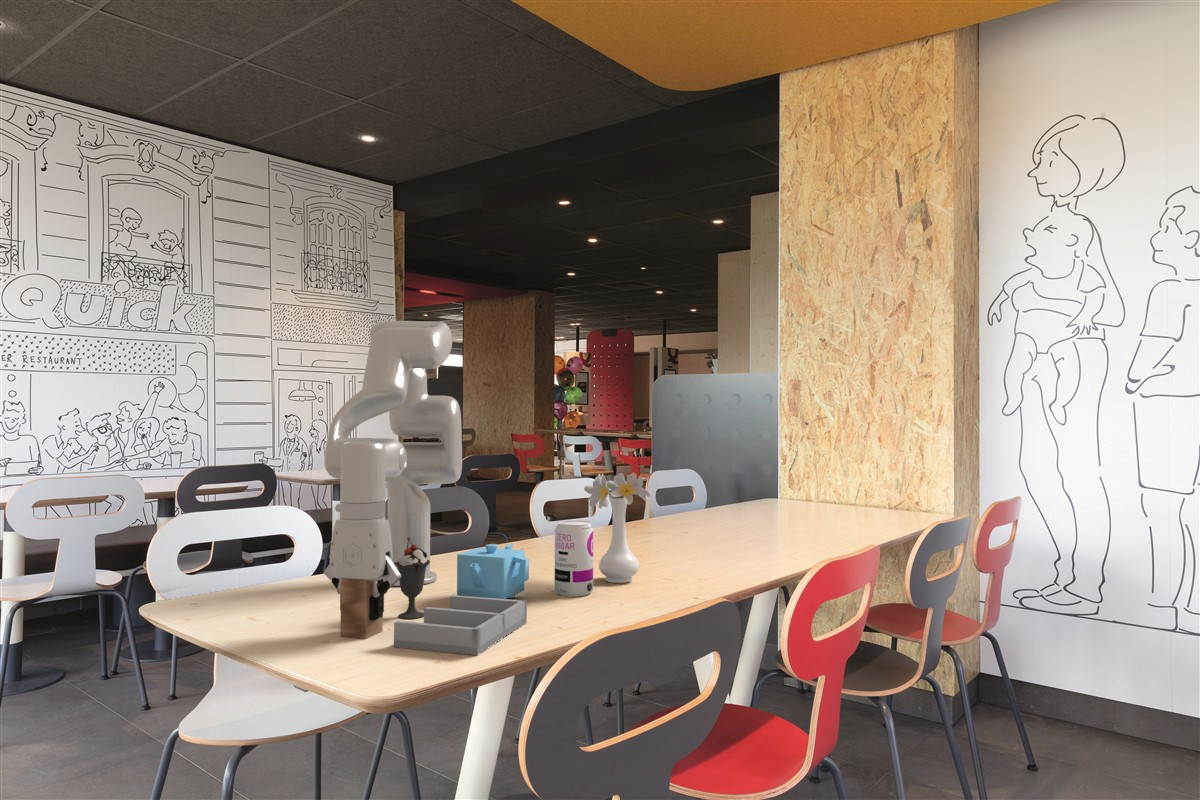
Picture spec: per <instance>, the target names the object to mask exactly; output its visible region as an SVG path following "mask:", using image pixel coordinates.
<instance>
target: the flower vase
mask: <svg viewBox="0 0 1200 800" xmlns="http://www.w3.org/2000/svg"><path fill="white" fill-rule="evenodd" d="M643 486H644V478H643V477H642V476H641V475H639V476H638V477H637V474H636V473H635V472H632V473H630V475H629V474H628V476H627V479H626V480H625V475H624V473H622V472H619V473H617V475H614V476H613V480H607V478H606V475H604V474H603V473H602V474H600V473H598V475H597V476H596V477H595V478H594V480H593V481H592V485H586V486H584V488H583V489H584V491H585V492H586V493H587V494H589V495H590V496H589V497H588V499H587V502H589V506H590V507H591V508H593V507H596V505H597V504H598V508H599V509H602V508H603V507H604V508H608V507H609V502H610V505H611V506H610V507H611V513H612V514H611V515H612V526H611V527H612V528H611V529H612V531H611V540H610V544H609V547H608V549H607V551H606V552H605V553H604V555H603V556H602V557H601V558H600V560H599V562H598V569H599V571H600V573H601V574H602V575H603V576H604V577H605V581H606V582H607V581H608V582H607V583H611V584H627V583H631V582H632V581H633V576H635V575H636V574H637V572H638V571H639V569H640V562H639V560H638V558H637V557H636V556H635V555H634V554H633V553H632V552H631V549H630V547H629V545H628V541H627V532H626V530H627V528H626V527H627V525H626V515H627V514H626V512H627V505H632V504H633V502H634V497H633V495H638V496H639V497H640V498H642V499H643V500H644V502H646V503H648V499H647V498H650V497H651V494H650V493H649V491H648V490H646V488H644V487H643ZM607 497H608V498H607ZM646 497H647V498H646ZM608 500H609V502H608Z"/></svg>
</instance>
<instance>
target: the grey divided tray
mask: <svg viewBox="0 0 1200 800" xmlns="http://www.w3.org/2000/svg"><path fill="white" fill-rule="evenodd" d="M527 602H528V601H527V600H523V599H522V600H520V599H519V600H518V599H497V598H484V597H471V596H458V595H457V594H454V595H453V594H452V595H450V597H449V608H443V607H432V606H431V607H430V606H426V607H424V608H423V613H424V617H423V622H415V621H414V622H413V621H405V620H395V621H394V622H393V647H394V648H400V649H401V648H402V649H410V650H417V651H418V650H419V651H429V652H431V651H432V652H437V653H439V652H440V653H450V654H457V653H461V654H460V655H467V654H471V655H470V656H476V655H478V654H479V653H481V652H482V653H484V652H485V651H487V650H488V649H489V648H488V647H490V646H491V645H493V644H494V643H495V642H497V641H498V640H500V639H501V638H503V637H505V636H506V635H508V634H509V633H511V632H512V633H514V632H515V631H516V630H515V629H517V628H518V627H520V626H521V627H523V626H524V625H526V624H527V623H526V622H527V619H528V618H527V610H528V609H527V608H528V607H527V606H528V603H527ZM525 623H526V624H525ZM523 624H524V625H523ZM522 625H523V626H522ZM521 627H520V628H521ZM518 629H519V628H518ZM518 629H517V630H518ZM514 630H515V631H514ZM513 631H514V632H513ZM512 633H511V634H512ZM509 635H510V634H509ZM509 635H508V636H509ZM506 637H507V636H506ZM506 637H505V638H506ZM503 639H504V638H503ZM500 641H501V640H500ZM497 643H498V642H497ZM494 645H495V644H494ZM494 645H493V646H494ZM491 647H492V646H491ZM491 647H490V648H491ZM487 648H488V649H487ZM486 649H487V650H486ZM484 650H485V651H484ZM483 651H484V652H483ZM482 653H481V654H482ZM479 655H480V654H479ZM479 655H478V656H479Z"/></svg>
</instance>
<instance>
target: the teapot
mask: <svg viewBox="0 0 1200 800" xmlns="http://www.w3.org/2000/svg"><path fill="white" fill-rule="evenodd" d="M484 546H485V547H477V548H474V549H471V550H468V551H464V552H462V553H461V552H460V553H459V554H457V556H456V557H457V558H456V563H457V565H456V574H457V575H456V595H458V596H471V597H484V598H497V599H507V598H514V597H515V595H516V596H517V594H520V593H522V592H524V591H525V582H527V581H529V577H530V558H528V557H525V550H521V549H520V550H519V549H512V548H513V547H514V544H513V543H510V544H507V545H506V546H505V547H504V548H498V546H499V545H498V544H496V543H489V544H485V545H484ZM514 599H515V598H514Z"/></svg>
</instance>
